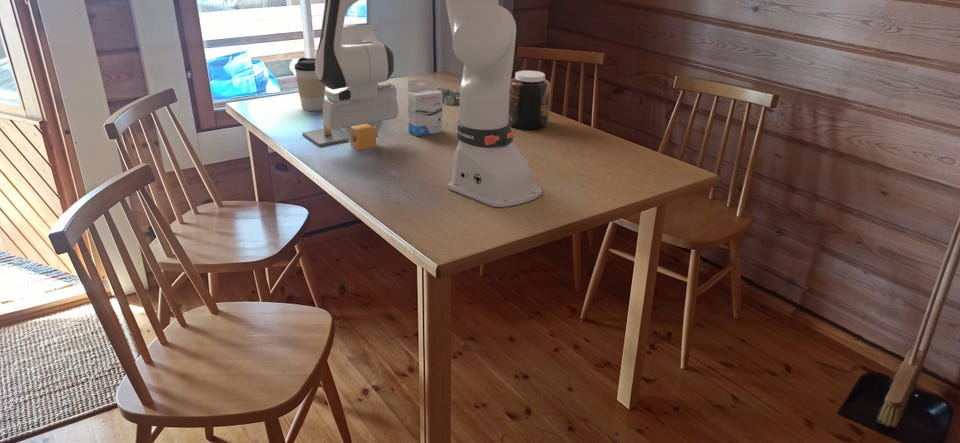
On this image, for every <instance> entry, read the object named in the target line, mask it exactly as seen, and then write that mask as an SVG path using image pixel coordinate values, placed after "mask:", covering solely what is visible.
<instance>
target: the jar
mask: <svg viewBox="0 0 960 443" xmlns="http://www.w3.org/2000/svg"><path fill="white" fill-rule="evenodd" d="M550 82H551V81H549V80H548V79H546V74H545V73H544V72H542V71H538V70H537V71H536V70H518V71H515V76H514V77H513V78H511V83H510V95H509V118H508V122H509V123H510V127H511V128H512V129H513V128H514V129H517V130H522V131H536V130H537V131H540V130H543V129H546V128H547V127H548V125H549V115H550V114H549V113H550V101H551V100H550V99H551V83H550Z"/></svg>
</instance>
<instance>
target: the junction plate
mask: <svg viewBox="0 0 960 443" xmlns="http://www.w3.org/2000/svg"><path fill="white" fill-rule="evenodd" d="M322 126H323V128H321V129H317V130H315V129H314V130H309V131H304V132H302V136H303V137H304V138H306V139H307V140H309V141H311V142H312V143H313V144H315V145H316V146H318V147H319V148H320V147H325V146H331V145H335V144H340V143H342V144H343V143H345V142H349V141H348V135H347V134H346V132H345V131H344V130H342V128H340V129H335V130H331V129H329V128H327V127H326V126H325V125H324V123H323V125H322Z"/></svg>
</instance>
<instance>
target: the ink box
mask: <svg viewBox="0 0 960 443" xmlns="http://www.w3.org/2000/svg"><path fill="white" fill-rule="evenodd" d="M407 82H408V84H407V85H408V86H407V87H408V88H407V89H408V91H407V112H408V113H407V116H408V118H407V120H408V133H410V134H412V135H414V137H415V136H416V137H419V136H420V137H421V136H426V135H427V136H428V135H432V134H433V135H434V134H438V133H439V134H440V133H442V132H443V102H442V91H440V90H437V89H438V88H437V89H436V88H435V78H434V77H425V78H417V79H409V80H408V81H407ZM420 83H425V84H420ZM418 84H419V85H418Z"/></svg>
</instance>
